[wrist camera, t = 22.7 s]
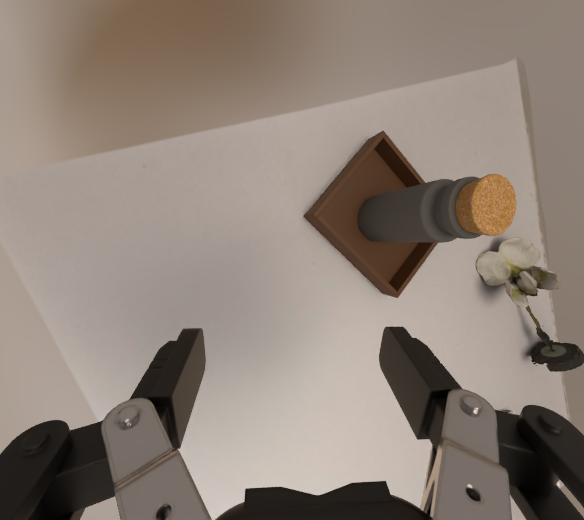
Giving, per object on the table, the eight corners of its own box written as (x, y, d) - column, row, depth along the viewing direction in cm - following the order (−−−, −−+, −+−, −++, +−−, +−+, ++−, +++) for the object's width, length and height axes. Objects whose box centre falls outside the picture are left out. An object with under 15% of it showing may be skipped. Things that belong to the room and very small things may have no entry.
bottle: (400, 204, 36) (529, 181, 22) (389, 247, 36) (511, 251, 22) (364, 189, 34) (478, 153, 20) (352, 234, 34) (458, 230, 20)
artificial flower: (510, 366, 47) (569, 402, 38) (454, 255, 45) (501, 262, 35) (557, 342, 47) (629, 372, 37) (503, 228, 45) (564, 227, 35)
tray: (303, 216, 32) (313, 214, 30) (368, 139, 34) (383, 130, 32) (382, 293, 37) (397, 298, 34) (436, 221, 39) (455, 219, 36)
